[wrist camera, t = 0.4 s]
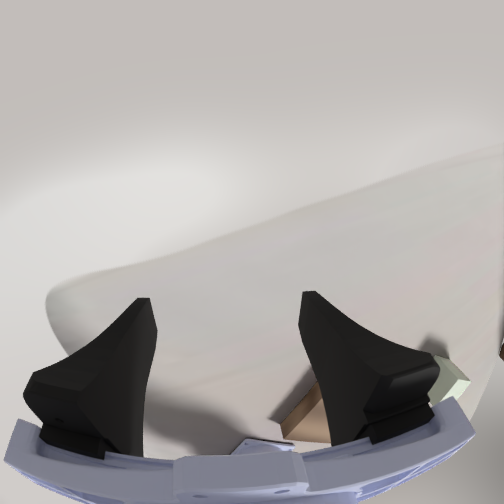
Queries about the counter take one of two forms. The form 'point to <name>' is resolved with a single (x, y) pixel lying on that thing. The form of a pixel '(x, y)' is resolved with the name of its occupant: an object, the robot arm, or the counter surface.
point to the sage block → (447, 381)
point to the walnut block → (308, 420)
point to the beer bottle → (502, 352)
